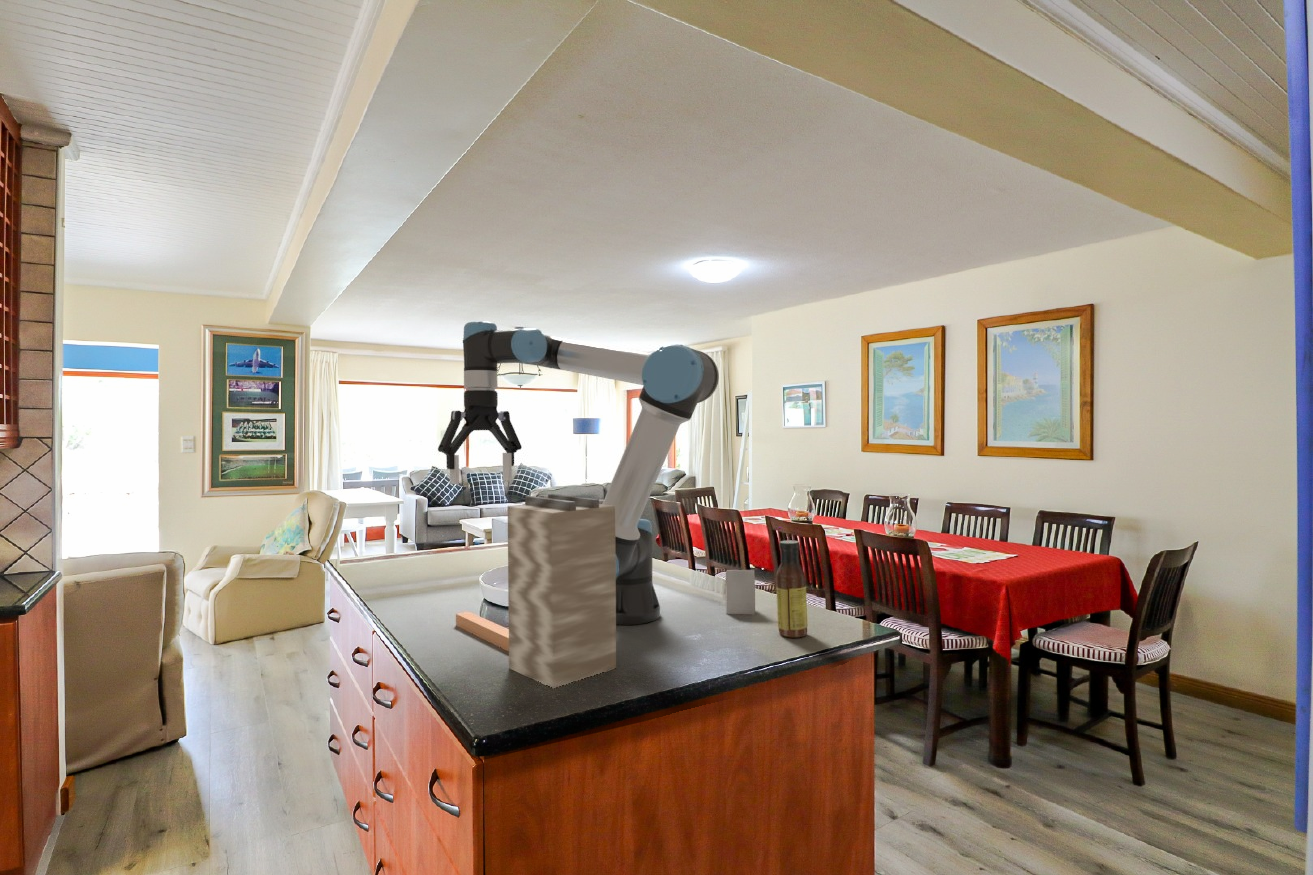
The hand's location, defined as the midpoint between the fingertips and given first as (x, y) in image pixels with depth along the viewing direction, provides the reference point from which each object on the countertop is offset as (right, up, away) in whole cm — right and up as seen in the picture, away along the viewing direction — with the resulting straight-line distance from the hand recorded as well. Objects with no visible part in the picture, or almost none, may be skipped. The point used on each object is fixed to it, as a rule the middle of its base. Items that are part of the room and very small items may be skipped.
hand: (481, 482), depth 161 cm
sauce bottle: (+69, -32, -13) cm, 77 cm away
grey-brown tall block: (+23, -32, -32) cm, 51 cm away
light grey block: (+60, -32, +5) cm, 68 cm away
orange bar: (+5, -32, -13) cm, 35 cm away
